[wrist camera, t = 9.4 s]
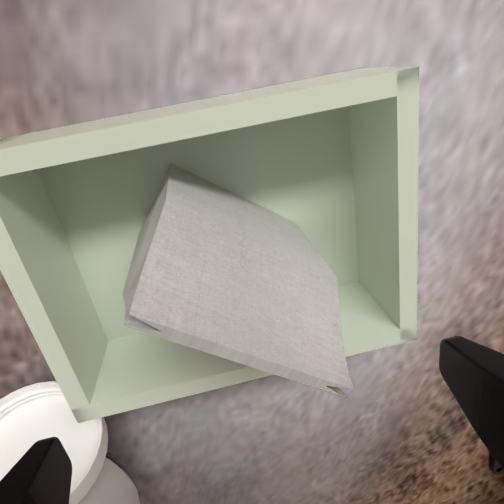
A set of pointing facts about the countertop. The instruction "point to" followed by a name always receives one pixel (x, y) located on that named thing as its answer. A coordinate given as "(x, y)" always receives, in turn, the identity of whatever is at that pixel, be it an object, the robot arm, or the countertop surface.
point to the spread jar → (63, 443)
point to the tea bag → (235, 284)
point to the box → (230, 178)
